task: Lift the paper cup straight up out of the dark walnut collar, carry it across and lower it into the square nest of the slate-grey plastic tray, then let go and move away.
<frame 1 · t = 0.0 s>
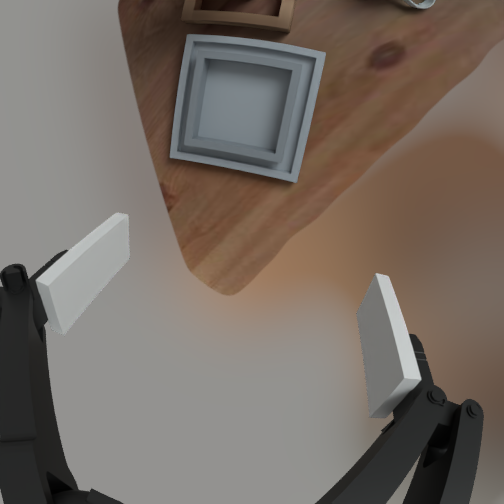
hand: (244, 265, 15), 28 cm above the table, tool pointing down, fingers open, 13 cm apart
grey tray: (244, 103, 36), on the table
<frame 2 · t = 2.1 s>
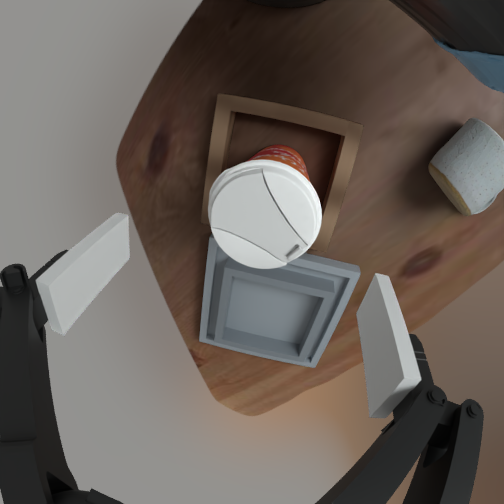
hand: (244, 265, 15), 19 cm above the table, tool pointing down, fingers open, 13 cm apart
paper cup: (278, 169, 31), resting in walnut collar
ceramic mug: (463, 166, 27), on the table
grey tray: (271, 305, 40), on the table
walnut collar: (278, 169, 31), on the table
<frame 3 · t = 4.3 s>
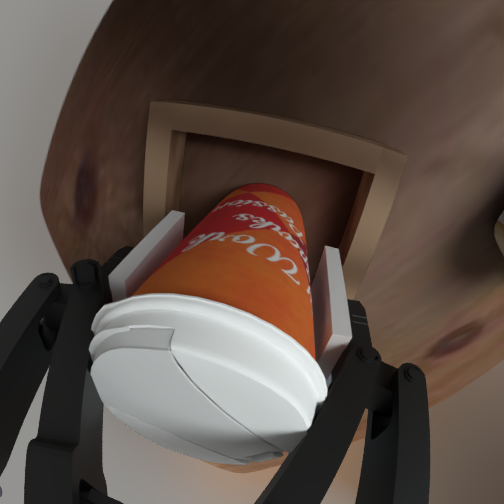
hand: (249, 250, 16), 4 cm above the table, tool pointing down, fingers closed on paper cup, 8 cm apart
paper cup: (259, 221, 20), resting in walnut collar, touching gripper
walnut collar: (259, 223, 20), on the table
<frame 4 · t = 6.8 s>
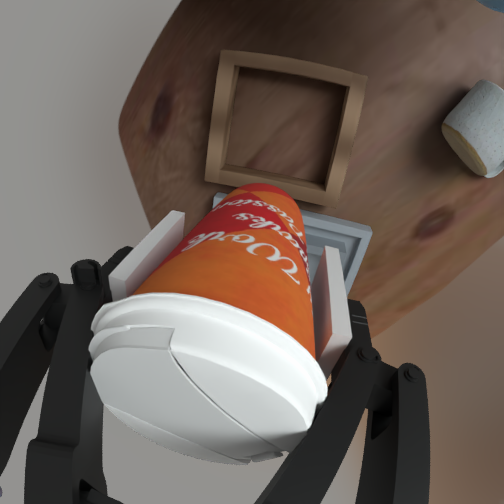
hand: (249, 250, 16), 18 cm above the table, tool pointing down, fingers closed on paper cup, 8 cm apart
paper cup: (259, 221, 20), point 14 cm above the table, touching gripper
ceramic mug: (474, 130, 25), on the table
grey tray: (279, 272, 38), on the table
walnut collar: (284, 124, 29), on the table
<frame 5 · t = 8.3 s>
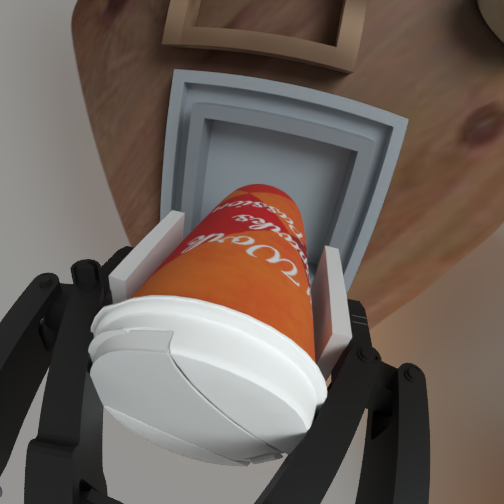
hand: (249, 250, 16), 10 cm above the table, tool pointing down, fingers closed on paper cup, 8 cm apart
paper cup: (259, 222, 20), point 6 cm above the table, touching gripper
grey tray: (270, 190, 25), on the table
when the fingers open (6 cm above the table, at t = 9.6 s): paper cup drops 1 cm, resting on grey tray.
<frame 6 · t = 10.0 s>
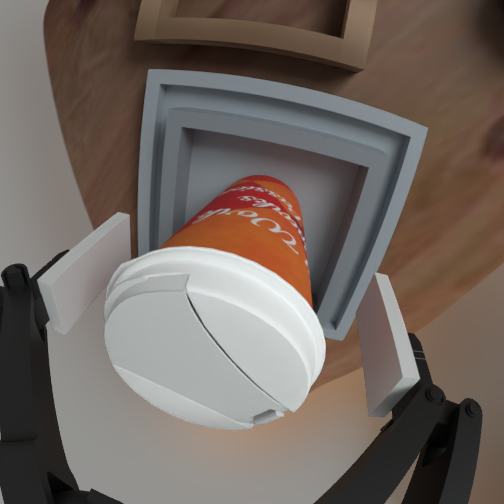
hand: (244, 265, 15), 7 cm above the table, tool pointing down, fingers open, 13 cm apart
paper cup: (260, 211, 21), resting on grey tray
grey tray: (263, 211, 21), on the table
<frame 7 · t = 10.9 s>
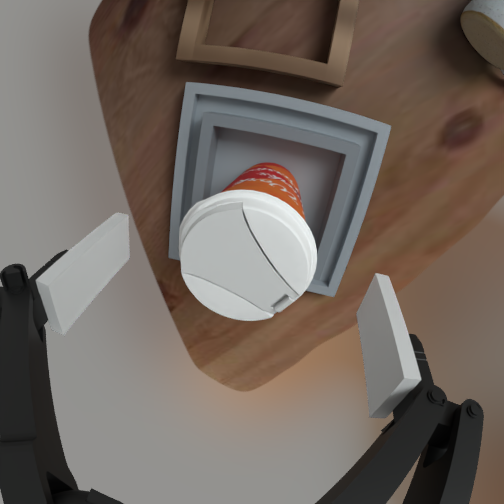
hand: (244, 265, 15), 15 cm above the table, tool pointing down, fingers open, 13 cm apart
paper cup: (267, 190, 28), resting on grey tray
ceramic mug: (494, 39, 16), on the table
grey tray: (269, 190, 28), on the table
walnut collar: (274, 3, 19), on the table
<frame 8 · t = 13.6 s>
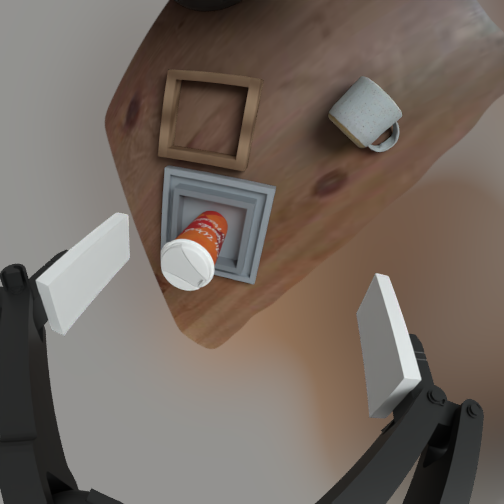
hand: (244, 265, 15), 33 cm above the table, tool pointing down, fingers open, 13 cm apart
paper cup: (212, 224, 51), resting on grey tray
ceramic mug: (366, 117, 39), on the table
grey tray: (213, 224, 51), on the table
walnut collar: (210, 116, 42), on the table
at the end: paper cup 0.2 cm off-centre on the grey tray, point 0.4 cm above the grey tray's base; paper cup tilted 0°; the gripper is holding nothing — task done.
